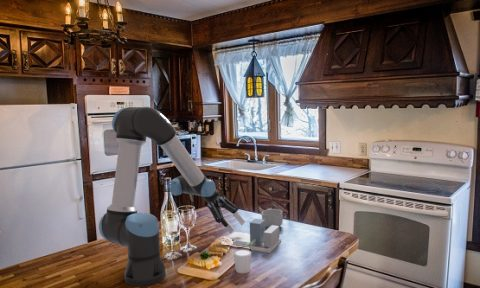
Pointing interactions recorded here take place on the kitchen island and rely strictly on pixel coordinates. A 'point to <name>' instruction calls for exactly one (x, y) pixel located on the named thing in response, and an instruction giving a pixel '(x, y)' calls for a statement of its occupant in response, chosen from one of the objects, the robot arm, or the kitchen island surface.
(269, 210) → the teacup
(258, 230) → the block
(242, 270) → the white cylinder
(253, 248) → the board
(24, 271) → the kitchen island surface
